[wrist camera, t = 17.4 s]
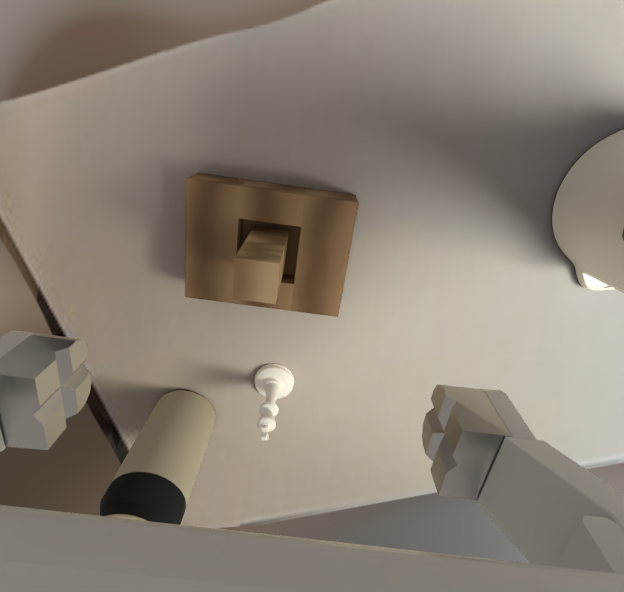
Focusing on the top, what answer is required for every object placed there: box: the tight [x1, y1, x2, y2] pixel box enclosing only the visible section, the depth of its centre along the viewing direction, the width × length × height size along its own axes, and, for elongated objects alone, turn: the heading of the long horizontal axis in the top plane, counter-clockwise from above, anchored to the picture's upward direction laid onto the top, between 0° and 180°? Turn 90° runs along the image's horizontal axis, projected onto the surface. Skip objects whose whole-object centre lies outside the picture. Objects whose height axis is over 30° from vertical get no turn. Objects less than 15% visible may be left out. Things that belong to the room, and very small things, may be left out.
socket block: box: [185, 173, 358, 317], centre depth 42 cm, size 16×12×4 cm
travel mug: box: [100, 390, 216, 525], centre depth 45 cm, size 8×8×18 cm
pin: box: [232, 226, 289, 304], centre depth 37 cm, size 4×4×10 cm
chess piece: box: [255, 364, 294, 440], centre depth 46 cm, size 5×5×10 cm
